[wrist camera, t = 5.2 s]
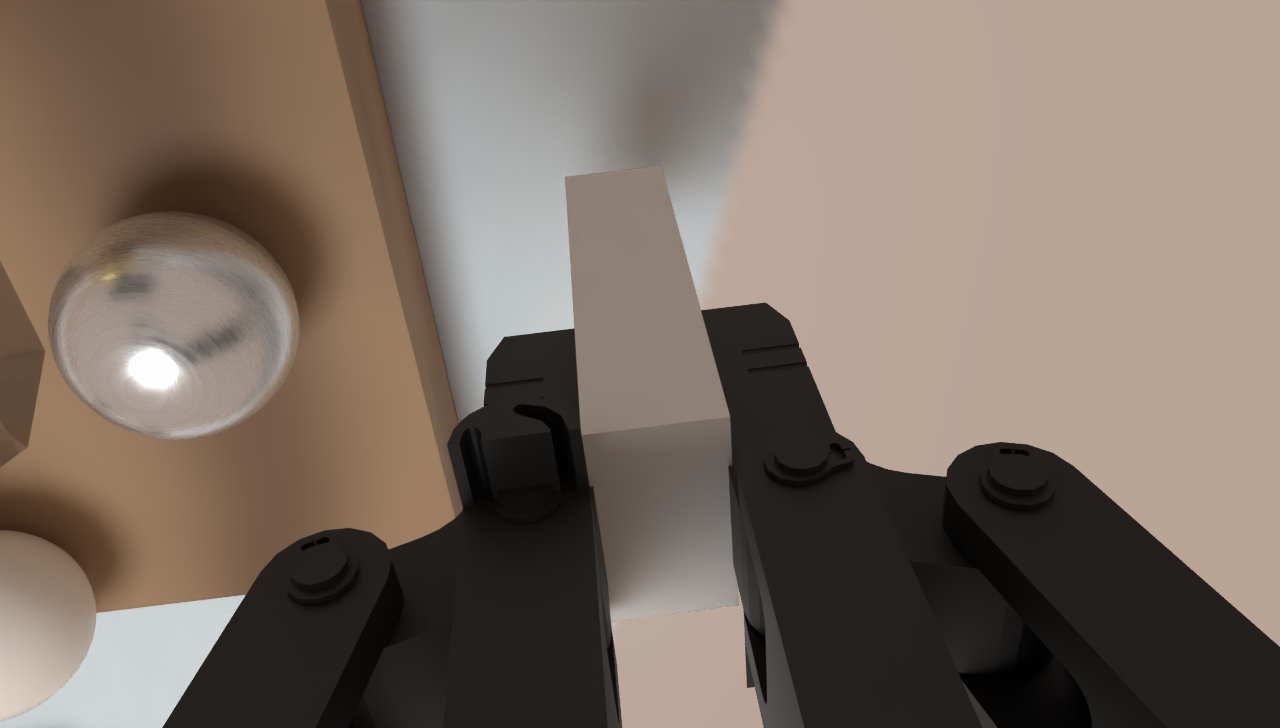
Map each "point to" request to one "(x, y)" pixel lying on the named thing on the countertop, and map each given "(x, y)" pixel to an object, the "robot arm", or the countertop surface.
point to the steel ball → (173, 325)
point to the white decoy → (40, 620)
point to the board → (268, 212)
